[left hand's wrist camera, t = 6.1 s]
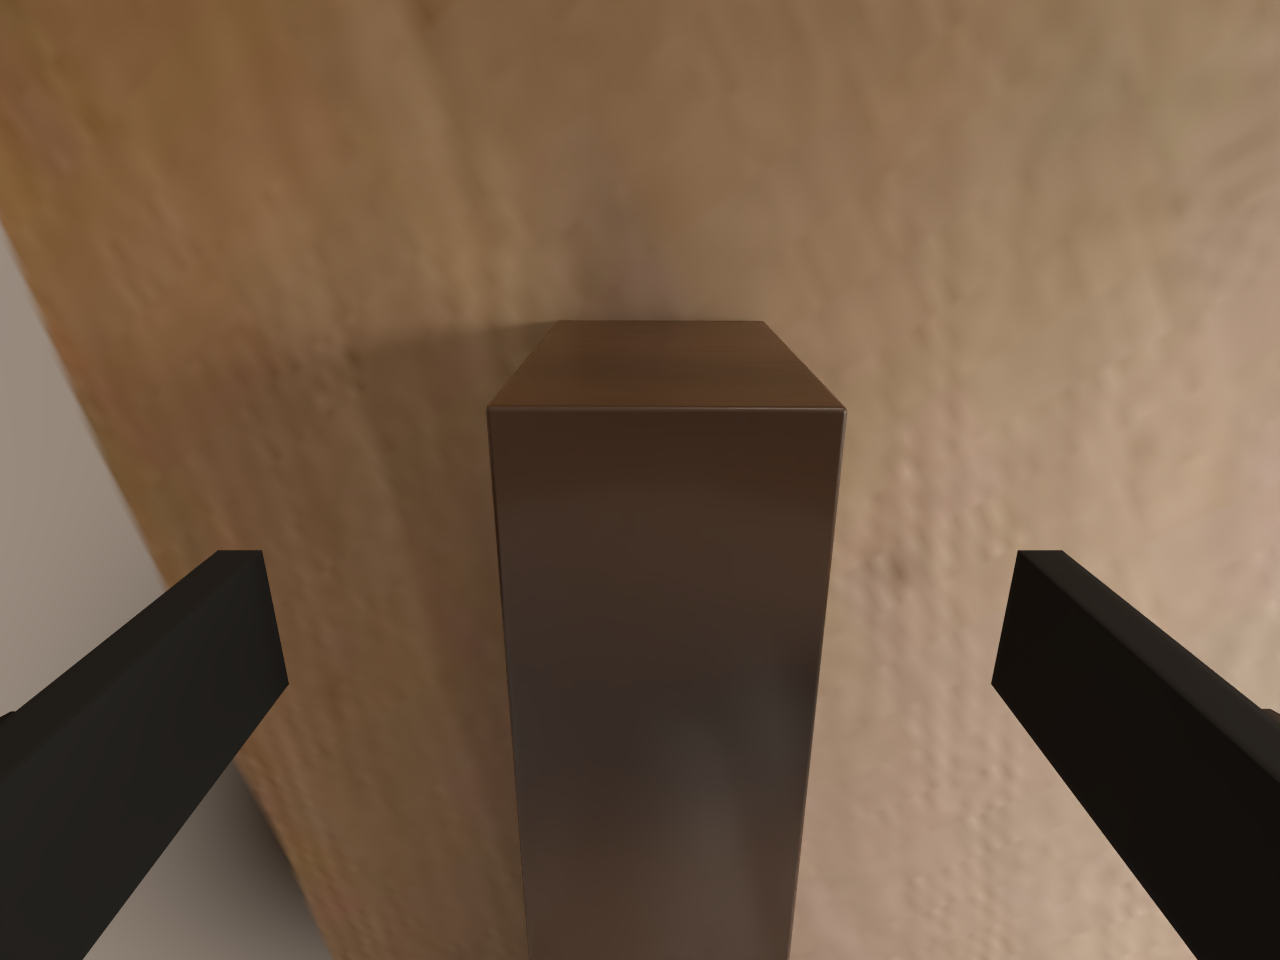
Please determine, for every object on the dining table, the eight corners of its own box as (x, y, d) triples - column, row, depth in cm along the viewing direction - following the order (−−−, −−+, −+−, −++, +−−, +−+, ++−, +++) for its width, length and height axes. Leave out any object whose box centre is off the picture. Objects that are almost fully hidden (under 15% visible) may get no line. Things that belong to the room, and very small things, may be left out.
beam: (557, 320, 17) (484, 405, 10) (764, 320, 17) (849, 407, 10) (589, 1131, 29) (567, 1456, 21) (715, 1134, 29) (736, 1461, 21)
